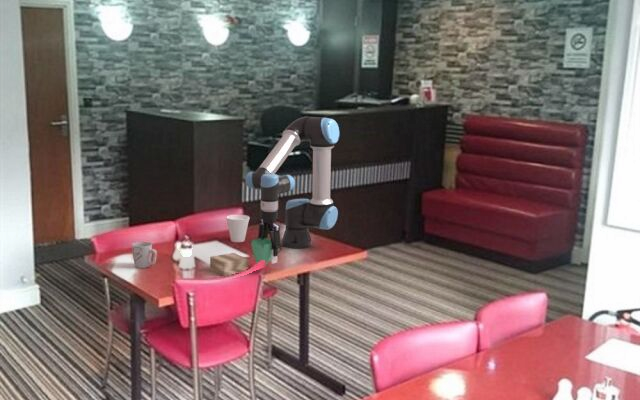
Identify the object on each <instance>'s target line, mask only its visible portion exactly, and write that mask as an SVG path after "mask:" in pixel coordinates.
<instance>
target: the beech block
mask: <svg viewBox="0 0 640 400" xmlns="http://www.w3.org/2000/svg"><path fill="white" fill-rule="evenodd" d="M209 269H210V270H211V271H213V272H215V274H216V273H217V274H219V275H221V276H223V277H228V276H227V275H229V276H232V275H231V274H234V275H236V274H235V273H238V272H241V271H244V270H246V269H248V270H249V258H246V257H244V256H242V255H241V254H240V255H239V254H237V253H235V252H232V253H226V254H219V255H213V256H210V257H209Z"/></svg>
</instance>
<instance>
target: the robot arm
mask: <svg viewBox="0 0 640 400" xmlns="http://www.w3.org/2000/svg"><path fill="white" fill-rule="evenodd" d="M339 139H340V127H339V124H338V122H336V120H334V119H333V118H328V117H320V116H319V117H317V116H302V117H300V118H297V119H295V120H294V121H292V122H291V123H290V124H289V125H288V126H287V127H286V128H285V129H284V130H283V132H282V136H281V138H280V139H279V140H278V142H277V143H276V144H275V146H274V147H273V149H272V150H271V151H270V152H269V153H268V155H267V156H266V158H265V159H264V160H263V162H262V163H261V164H260V166H259V167H258V168H257V169H256V170H255V171H249V172H248V173H247V174H246V176H245V185H246V187H247V188H249V189H252V190H253V189H254V190H260V219H259V220H258V232H257V233H258V234H257V239H259V238H262V240H263V239H264V238H265V239H268V236H269V239H271V243H272V248H271V260H270V263H271V264H277V263H278V254H279V253H278V248H281V249H282V247H285V248H288V249H289V248H290V249H305V248H309V247H311V246H312V236H311V234H310V231H309V228H315V229H320V230H330V229H332V228H333V227H334V226H335V224H336V222H337V220H338V216H339V211H338V208H337V207H336V206H334V201H333V199H332V198H331V178H332V177H331V172H332V171H331V169H332V167H331V165H332V164H331V163H332V149H333V148H335V144H336V143H337V142H338V141H339ZM301 142H309V146H310V148H311V149H312V198H311V199H308V198H294V199H289V200H287V201H286V203H285V204H286V205H285V208H284V209H285V226H284V228H285V229H284V233H283V235H282V238H281V233H280V231H281V229H280V228H281V226H280V225H277V222H276V220H278V219H279V195H281V194H284V193H289V192H290V191H292V190H293V189H294V188H295V185H296V182H295V179H294V177H293V176H292V175H291V174H283V175H278V174H276V173H277V171H278V170H279V169H280V167H281V166H282V165H283V163H284V162H285V161H286V159H287V158H288V156H289V155H290V154H291V152H292V151H293V150H294V149H295V147H296V146H299V145H300V144H301ZM280 242H281V243H280Z"/></svg>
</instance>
